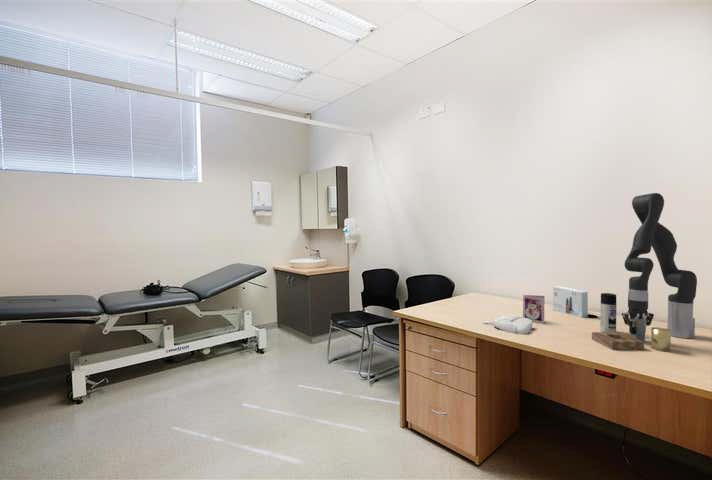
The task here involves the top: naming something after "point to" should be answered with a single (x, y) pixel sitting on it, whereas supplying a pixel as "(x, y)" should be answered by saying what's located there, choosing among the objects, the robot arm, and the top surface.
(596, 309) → the top surface
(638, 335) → the square bit
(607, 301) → the spray can
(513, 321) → the lung model
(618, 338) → the bore block
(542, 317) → the greeting card
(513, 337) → the top surface
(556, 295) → the skincare box
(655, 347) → the cylinder
